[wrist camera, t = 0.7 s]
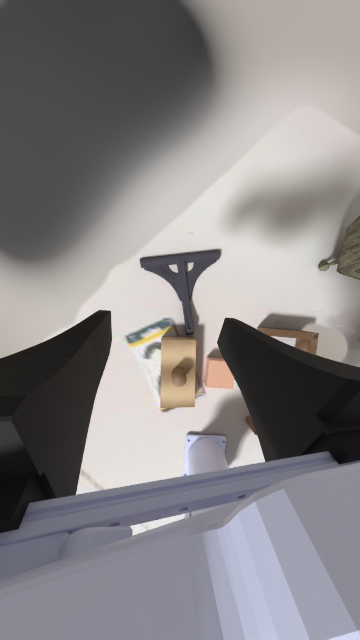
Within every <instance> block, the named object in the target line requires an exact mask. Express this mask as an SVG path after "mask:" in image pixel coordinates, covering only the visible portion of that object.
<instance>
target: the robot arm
mask: <svg viewBox="0 0 360 640" xmlns="http://www.w3.org/2000/svg"><path fill="white" fill-rule="evenodd" d="M111 342H112V330H111V311H105V310H99V311H97V312H95V313H94V314H92V315H91V316H89V317H88V318H86V319H85V320H83V321H82V322H80V323H78V324H77V325H75V326H73V327H72V328H70V329H68V330H66V331H65V332H63V333H61V334H59V335H57V336H55V337H53V338H51V339H49V340H47V341H45V342H42V343H40V344H38V345H36V346H33V347H30V348H28V349H25V350H23V351H20V352H17V353H15V354H12V355H9V356H7V357H4V358H1V359H0V640H360V367H356V366H351V365H348V364H344V363H340V362H337V361H333V360H329V359H326V358H323V357H320V356H317V355H314V354H311V353H308V352H305V351H303V350H300V349H297V348H295V347H293V346H290V345H288V344H285V343H283V342H281V341H279V340H277V339H275V338H272V337H270V336H268V335H266V334H264V333H263V332H261V331H259V330H257V329H255V328H253V327H251V326H249V325H247V324H245V323H243V322H241V321H239V320H237V319H234V318H225V320H224V323H223V326H222V329H221V332H220V335H219V338H218V341H217V343H218V346H219V349H220V352H221V355H222V357H223V358H224V360H225V362H226V364H227V366H228V368H229V370H230V371H231V373H232V375H233V377H234V379H235V380H236V382H237V384H238V386H239V388H240V390H241V393H242V395H243V397H244V400H245V402H246V405H247V407H248V410H249V413H250V415H251V418H252V421H253V423H254V426H255V429H256V432H257V435H258V438H259V441H260V445H261V448H262V452H263V455H264V458H265V462H263V463H257V464H251V465H245V466H239V467H234V468H229V466H228V464H227V461H226V458H225V447H226V437H225V436H221V435H192V434H188V435H187V436H186V443H185V454H184V464H183V474H182V477H176V478H170V479H165V480H159V481H153V482H147V483H142V484H136V485H130V486H124V487H119V488H113V489H107V490H101V491H96V492H90V493H84V494H78V495H76V491H77V485H78V480H79V474H80V469H81V463H82V458H83V453H84V448H85V443H86V438H87V433H88V428H89V423H90V419H91V414H92V409H93V405H94V401H95V396H96V393H97V389H98V386H99V383H100V380H101V377H102V374H103V371H104V369H105V366H106V363H107V360H108V356H109V353H110V348H111ZM188 439H189V440H188ZM184 513H186V515H185V517H184V519H182V520H179V521H176V522H173V523H170V524H167V525H164V526H161V527H158V528H155V529H152V530H149V531H146V532H143V533H140V534H137V535H134V536H132V529H131V527H130V526H132V525H136V524H140V523H145V522H149V521H153V520H158V519H162V518H167V517H171V516H175V515H180V514H184Z"/></svg>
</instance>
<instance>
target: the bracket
mask: <svg viewBox="0 0 360 640" xmlns="http://www.w3.org/2000/svg"><path fill="white" fill-rule="evenodd" d="M219 257H220V252H219V250H214V251H205V252H196V253H186V254H177V255H168V256H159V257H149V258H140V263H141V267H142V268H144V269H145V270H147V271H150V272H153V273H155V274H157V275H159V276H161V277H162V278H164V279H165V280H166V281H168V282H169V283H170V284H171V285H172V287H173V288H174V289H175V291H176V293H177V295H178V297H179V299H180V301H182V305H183V313H184V320H185V328H186V334H187V335H190V334H194V328H193V322H192V315H191V309H190V302H189V300H191V294H192V290H193V287H194V284H195V282H196V280H197V278H198V277H199V276H200V274H201V273H202V272H203V271H204V270H205V269H206V268H207V267H209V266H210V265H212V264H213V263H215V262H216V260H217V259H219ZM190 262H194V265H193V269H192V270H191V271H190V272H188V273H186V270H185V263H190ZM172 264H177V267H178V273H179V274H175V273H173V272H171V271H170V270H169V268H168V265H172ZM191 276H192V277H191ZM173 278H174V279H173Z"/></svg>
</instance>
